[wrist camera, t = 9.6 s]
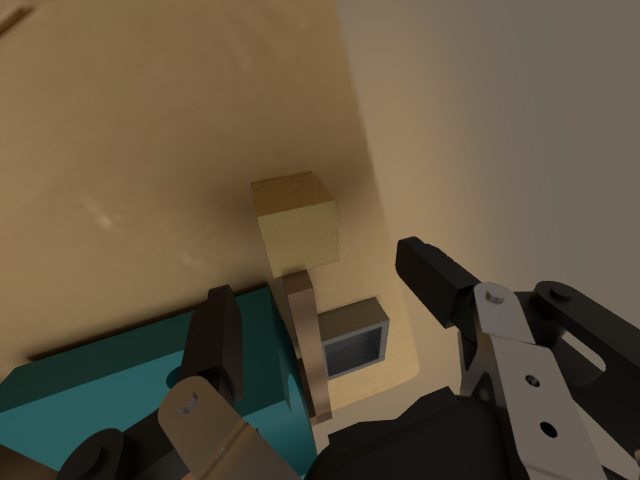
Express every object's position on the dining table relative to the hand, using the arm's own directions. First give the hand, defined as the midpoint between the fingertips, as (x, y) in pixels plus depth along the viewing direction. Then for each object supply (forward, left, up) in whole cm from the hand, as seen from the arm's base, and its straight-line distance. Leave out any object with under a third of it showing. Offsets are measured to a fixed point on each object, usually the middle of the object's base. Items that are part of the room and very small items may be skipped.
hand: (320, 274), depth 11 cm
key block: (0, 0, -8) cm, 8 cm away
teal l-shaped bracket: (+12, -12, -8) cm, 19 cm away
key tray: (+16, +4, -7) cm, 18 cm away
